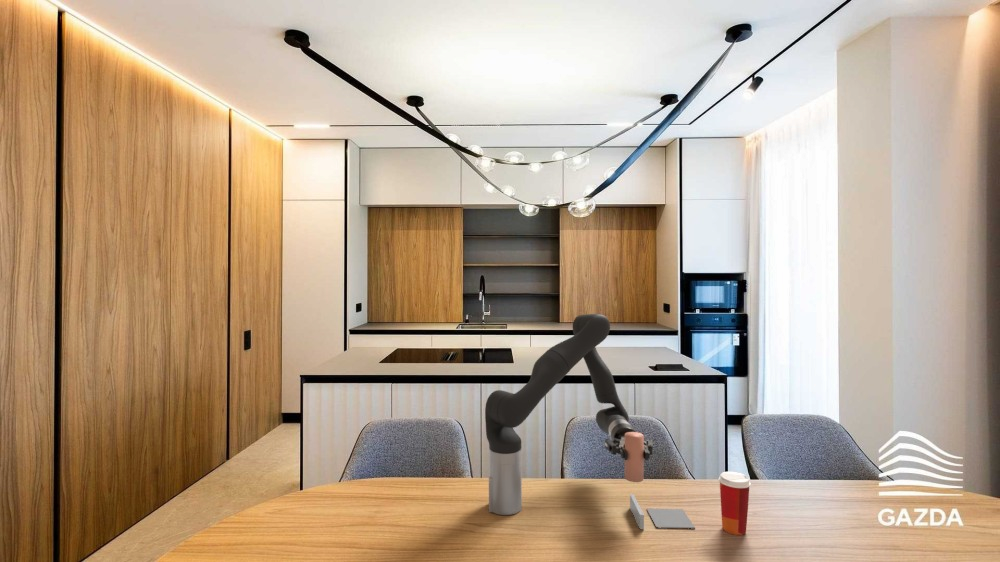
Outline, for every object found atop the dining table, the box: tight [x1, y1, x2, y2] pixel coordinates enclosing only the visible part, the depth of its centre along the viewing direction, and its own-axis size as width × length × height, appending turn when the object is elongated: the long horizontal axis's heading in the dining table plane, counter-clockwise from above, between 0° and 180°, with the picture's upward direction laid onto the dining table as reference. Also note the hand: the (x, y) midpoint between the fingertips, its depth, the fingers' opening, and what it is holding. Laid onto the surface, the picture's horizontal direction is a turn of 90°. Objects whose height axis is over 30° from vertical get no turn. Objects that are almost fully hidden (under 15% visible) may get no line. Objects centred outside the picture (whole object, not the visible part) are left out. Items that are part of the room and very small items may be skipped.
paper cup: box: [717, 471, 752, 536], centre depth 130 cm, size 8×8×14 cm
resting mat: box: [646, 508, 696, 530], centre depth 136 cm, size 10×10×1 cm
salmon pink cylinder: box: [624, 431, 645, 483], centre depth 137 cm, size 5×5×12 cm
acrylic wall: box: [629, 493, 645, 530], centre depth 136 cm, size 1×12×4 cm, turn 178°
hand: (636, 456), depth 134 cm, fingers closed on salmon pink cylinder, 5 cm apart
